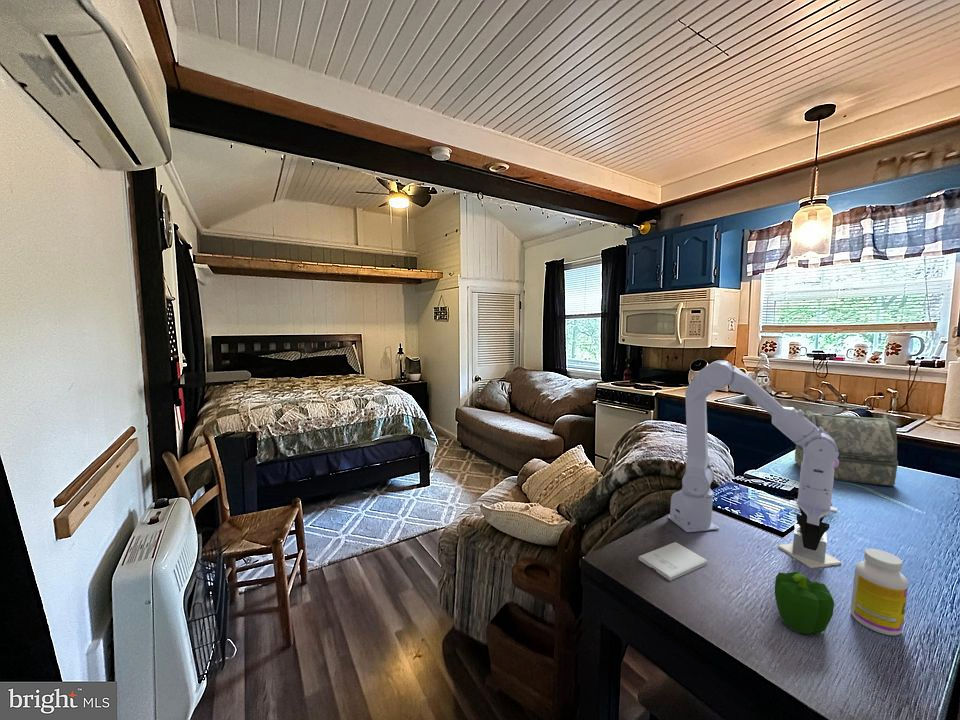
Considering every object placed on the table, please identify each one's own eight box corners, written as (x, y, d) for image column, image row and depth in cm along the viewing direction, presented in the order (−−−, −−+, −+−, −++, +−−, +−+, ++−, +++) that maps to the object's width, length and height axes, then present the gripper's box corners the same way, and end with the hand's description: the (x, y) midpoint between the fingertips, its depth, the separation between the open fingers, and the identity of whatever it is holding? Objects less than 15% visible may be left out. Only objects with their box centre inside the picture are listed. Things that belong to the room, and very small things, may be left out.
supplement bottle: (908, 643, 66) (918, 572, 65) (855, 627, 70) (863, 559, 68) (894, 618, 72) (902, 552, 70) (845, 604, 75) (852, 541, 74)
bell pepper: (801, 606, 75) (806, 557, 73) (843, 642, 66) (849, 587, 65) (759, 607, 74) (763, 558, 73) (795, 643, 66) (800, 588, 65)
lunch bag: (802, 477, 136) (808, 416, 133) (786, 460, 152) (791, 405, 150) (904, 491, 125) (912, 424, 123) (875, 471, 142) (882, 412, 139)
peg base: (811, 568, 86) (813, 548, 86) (777, 547, 94) (779, 529, 93) (841, 564, 87) (843, 545, 87) (806, 544, 95) (807, 526, 95)
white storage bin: (792, 553, 90) (794, 533, 90) (793, 543, 95) (795, 523, 94) (824, 563, 87) (826, 542, 86) (823, 552, 91) (826, 532, 90)
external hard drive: (707, 567, 87) (669, 583, 82) (674, 547, 95) (638, 561, 89) (707, 560, 87) (670, 576, 82) (674, 541, 94) (638, 554, 89)
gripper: (841, 502, 81) (834, 563, 82) (837, 480, 92) (831, 534, 93) (797, 492, 85) (791, 550, 87) (799, 472, 96) (794, 524, 98)
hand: (809, 541), depth 90 cm, fingers open, 6 cm apart
